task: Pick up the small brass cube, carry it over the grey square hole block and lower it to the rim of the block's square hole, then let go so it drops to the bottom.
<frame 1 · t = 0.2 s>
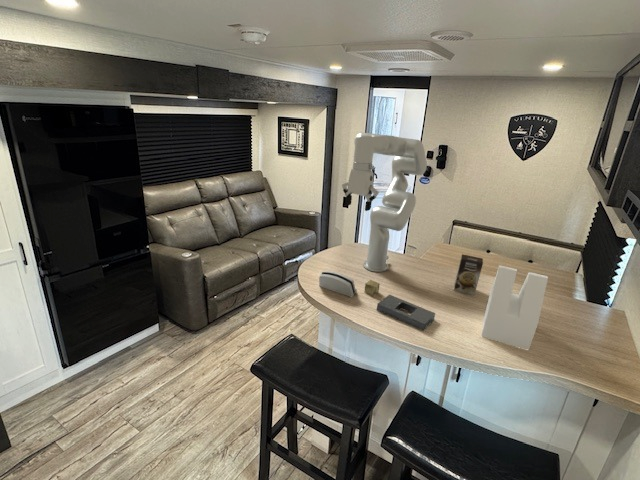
hand: (357, 207, 148), 36 cm above the table, tool pointing down, fingers open, 9 cm apart
white slotted block: (504, 330, 134), on the table
brass cube: (371, 292, 154), on the table
grey square hole block: (404, 314, 139), on the table
hinge: (336, 291, 154), on the table
coffee box: (464, 290, 162), on the table
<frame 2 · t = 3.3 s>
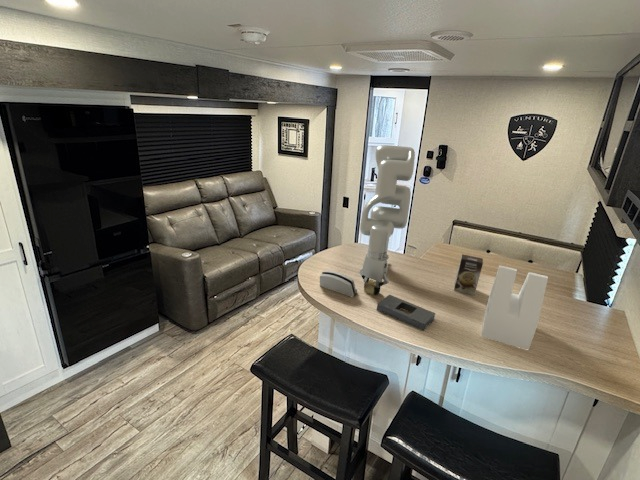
hand: (371, 291, 154), 0 cm above the table, tool pointing down, fingers closed on brass cube, 4 cm apart
brass cube: (371, 292, 154), on the table, touching gripper
everything else where it was.
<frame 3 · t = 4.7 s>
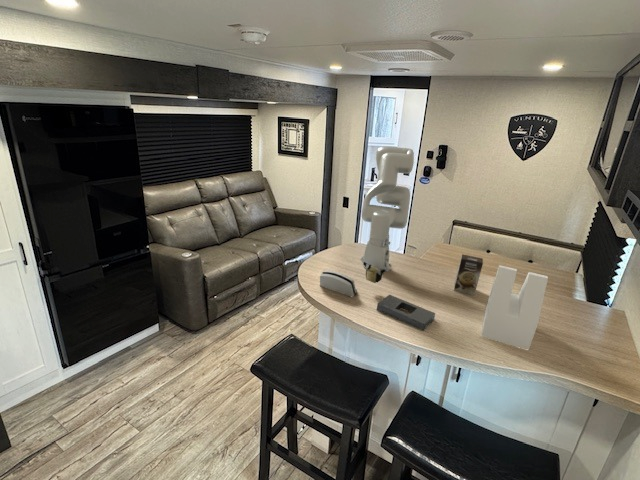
hand: (373, 278, 153), 6 cm above the table, tool pointing down, fingers closed on brass cube, 4 cm apart
brass cube: (373, 279, 153), point 6 cm above the table, touching gripper
everything else where it was.
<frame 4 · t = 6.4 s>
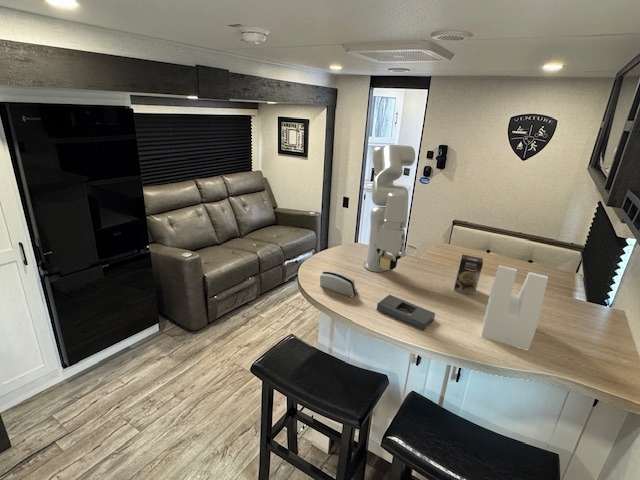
hand: (387, 266, 143), 16 cm above the table, tool pointing down, fingers closed on brass cube, 4 cm apart
brass cube: (387, 267, 143), point 16 cm above the table, touching gripper
everything else where it was.
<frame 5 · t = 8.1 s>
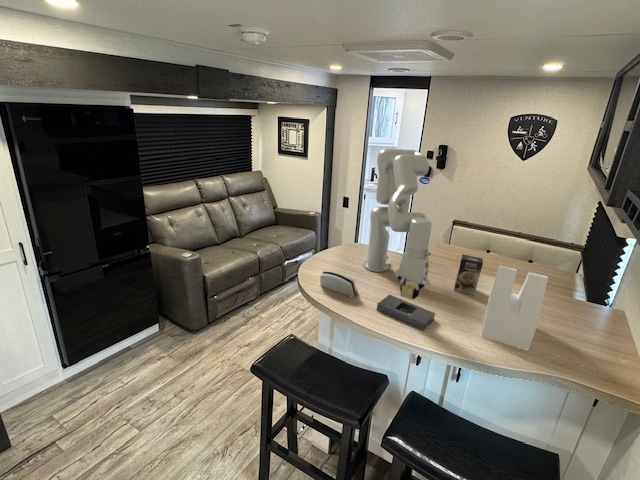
hand: (408, 294, 135), 9 cm above the table, tool pointing down, fingers closed on brass cube, 4 cm apart
brass cube: (408, 295, 136), point 9 cm above the table, touching gripper
everything else where it was.
when the fingers open (4 cm above the table, at t = 9.5 s): brass cube drops 4 cm, resting in grey square hole block.
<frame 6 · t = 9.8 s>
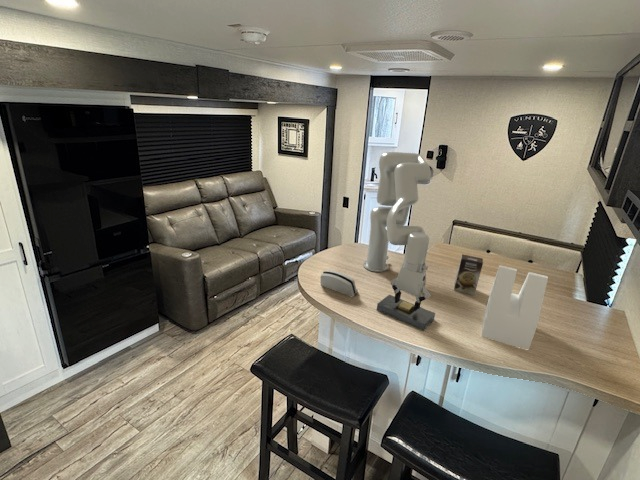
hand: (406, 305, 138), 4 cm above the table, tool pointing down, fingers open, 7 cm apart
brass cube: (404, 314, 139), resting in grey square hole block
everything else where it was.
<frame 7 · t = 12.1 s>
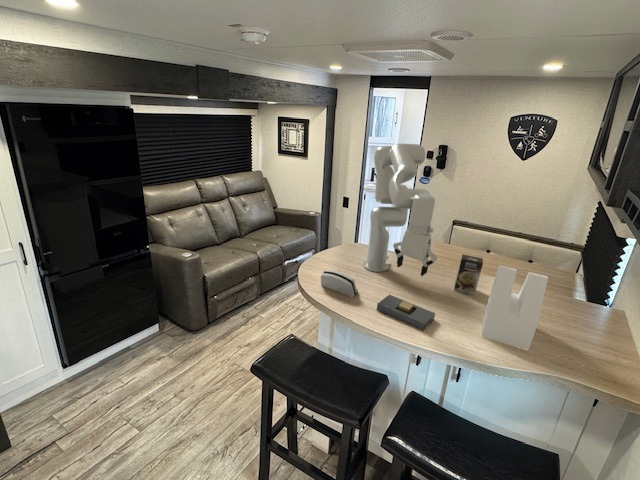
hand: (411, 270, 134), 19 cm above the table, tool pointing down, fingers open, 9 cm apart
nothing on the table moved.
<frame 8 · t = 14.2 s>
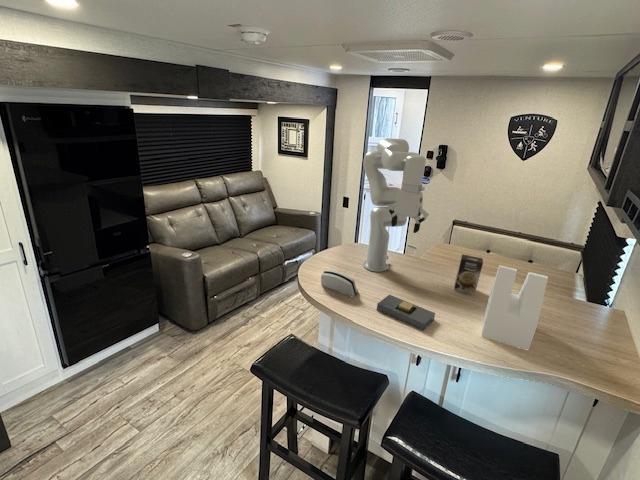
hand: (404, 229, 143), 30 cm above the table, tool pointing down, fingers open, 9 cm apart
nothing on the table moved.
at the end: brass cube 0.1 cm off-centre on the grey square hole block, point 0.0 cm above the grey square hole block's base; brass cube tilted 0°; the gripper is holding nothing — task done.
